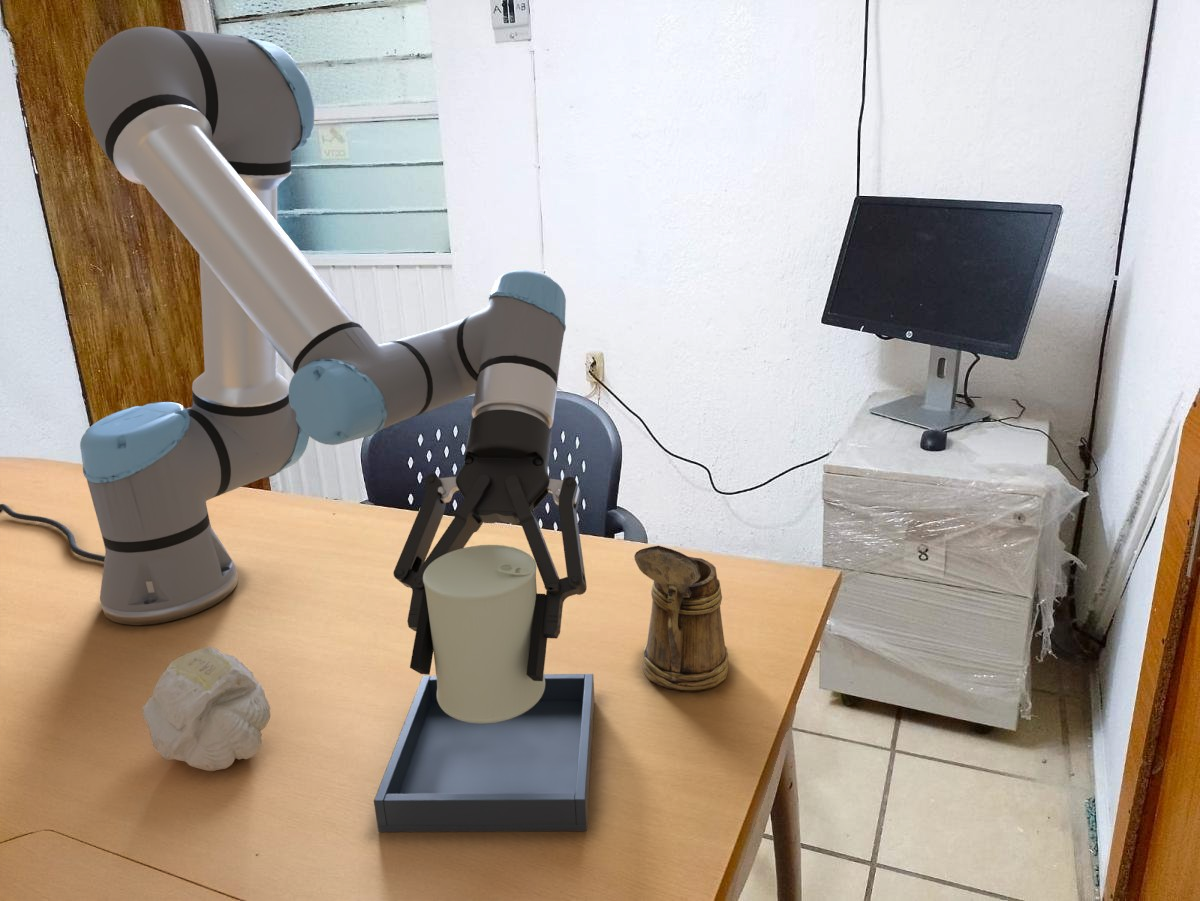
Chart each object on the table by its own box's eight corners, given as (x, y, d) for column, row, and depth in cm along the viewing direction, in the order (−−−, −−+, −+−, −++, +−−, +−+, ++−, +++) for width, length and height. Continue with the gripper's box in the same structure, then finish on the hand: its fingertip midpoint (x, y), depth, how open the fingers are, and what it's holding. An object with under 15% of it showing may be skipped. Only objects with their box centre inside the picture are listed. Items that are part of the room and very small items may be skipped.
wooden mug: (614, 710, 79) (608, 540, 73) (657, 636, 91) (655, 484, 85) (705, 729, 76) (707, 553, 70) (737, 650, 88) (741, 494, 82)
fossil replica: (234, 798, 70) (301, 730, 79) (229, 712, 68) (298, 653, 77) (113, 769, 73) (192, 707, 82) (103, 685, 70) (186, 631, 80)
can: (528, 729, 66) (517, 596, 62) (419, 718, 67) (402, 588, 63) (557, 663, 74) (549, 542, 70) (459, 654, 76) (446, 536, 72)
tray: (378, 832, 66) (373, 801, 65) (425, 702, 81) (422, 675, 80) (586, 831, 65) (585, 799, 64) (594, 700, 81) (593, 673, 80)
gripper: (632, 444, 78) (615, 690, 68) (413, 441, 81) (367, 675, 72) (624, 406, 71) (603, 673, 61) (385, 404, 74) (330, 657, 65)
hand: (476, 674), depth 67 cm, fingers closed on can, 9 cm apart
